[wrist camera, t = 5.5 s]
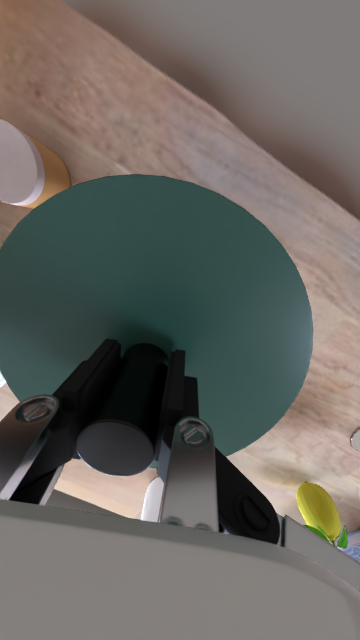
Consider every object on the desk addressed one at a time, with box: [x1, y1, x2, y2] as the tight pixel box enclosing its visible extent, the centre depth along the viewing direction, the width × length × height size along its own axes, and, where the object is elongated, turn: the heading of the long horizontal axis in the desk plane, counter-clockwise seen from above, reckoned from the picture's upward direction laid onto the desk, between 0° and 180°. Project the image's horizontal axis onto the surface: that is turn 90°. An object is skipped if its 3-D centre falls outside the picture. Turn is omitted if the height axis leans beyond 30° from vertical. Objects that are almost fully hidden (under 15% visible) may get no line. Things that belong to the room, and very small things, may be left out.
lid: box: [0, 174, 313, 476], centre depth 9 cm, size 18×18×6 cm
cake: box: [0, 119, 70, 209], centre depth 19 cm, size 6×6×5 cm
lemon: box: [297, 482, 348, 549], centre depth 32 cm, size 7×6×10 cm
